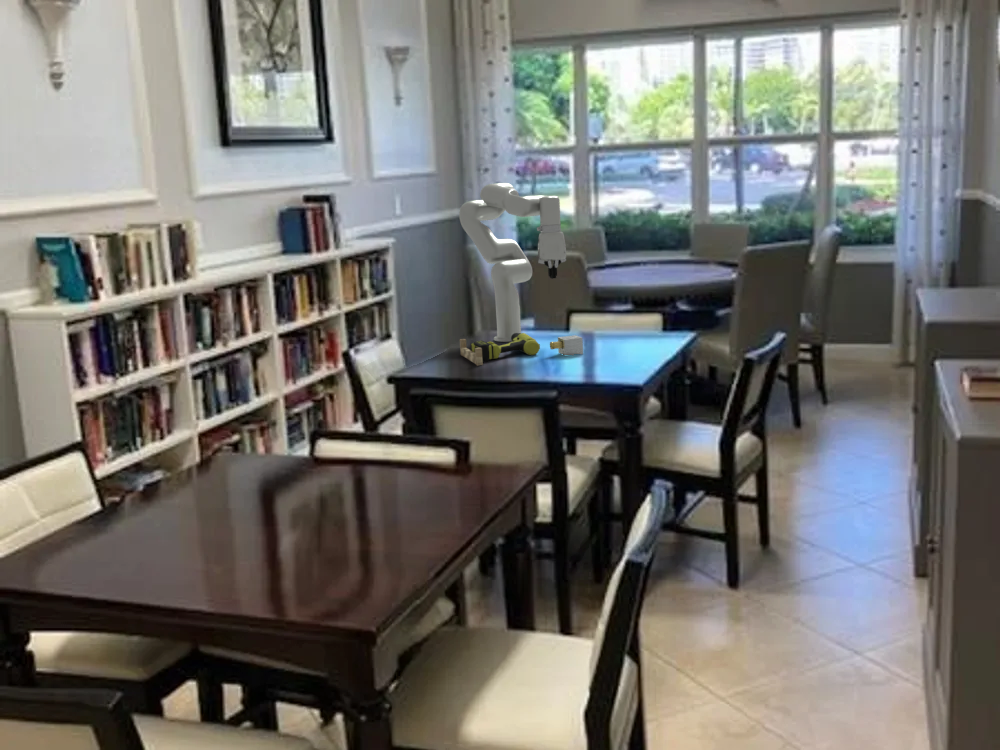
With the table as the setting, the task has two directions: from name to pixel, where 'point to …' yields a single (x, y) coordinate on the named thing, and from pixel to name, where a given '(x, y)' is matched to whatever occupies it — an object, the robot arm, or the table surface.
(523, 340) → the cordless drill
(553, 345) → the brass capped square peg
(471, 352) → the rail
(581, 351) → the socket block
